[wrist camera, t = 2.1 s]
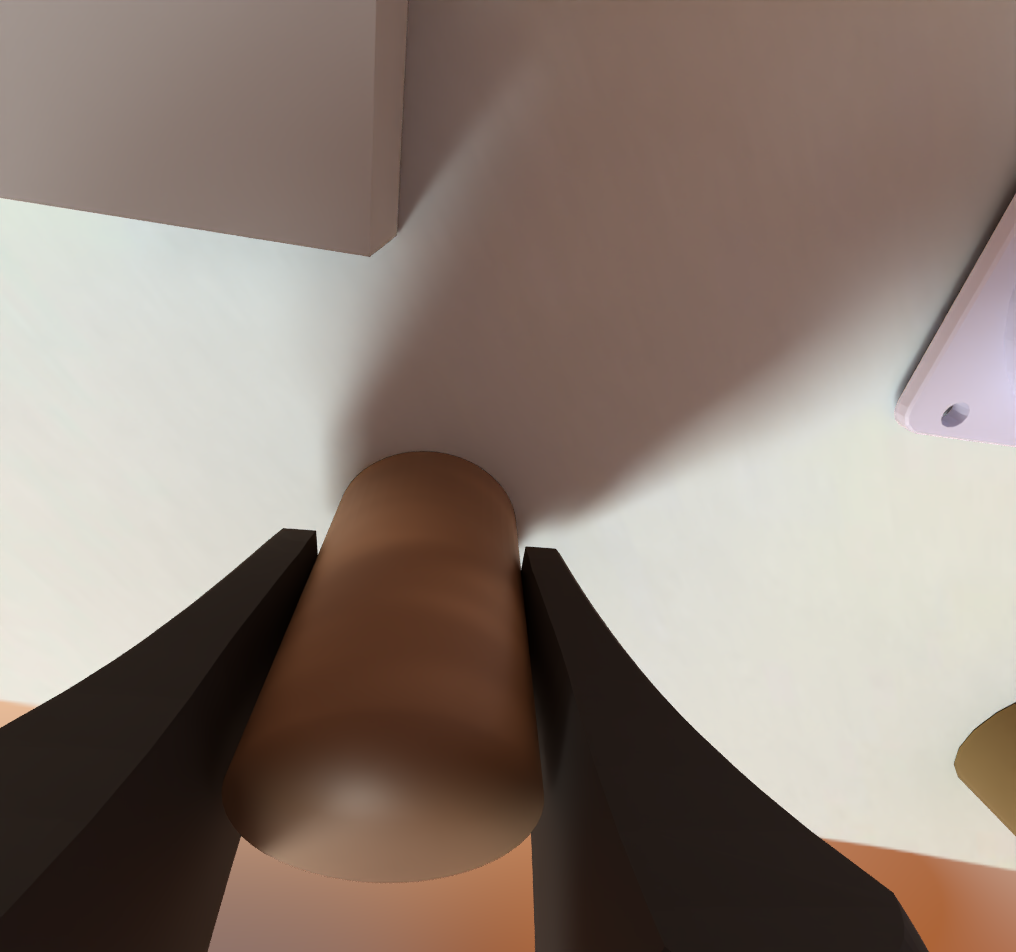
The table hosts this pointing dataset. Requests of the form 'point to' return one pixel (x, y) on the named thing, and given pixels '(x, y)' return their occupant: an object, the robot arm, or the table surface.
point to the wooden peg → (399, 689)
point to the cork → (992, 765)
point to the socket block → (209, 114)
